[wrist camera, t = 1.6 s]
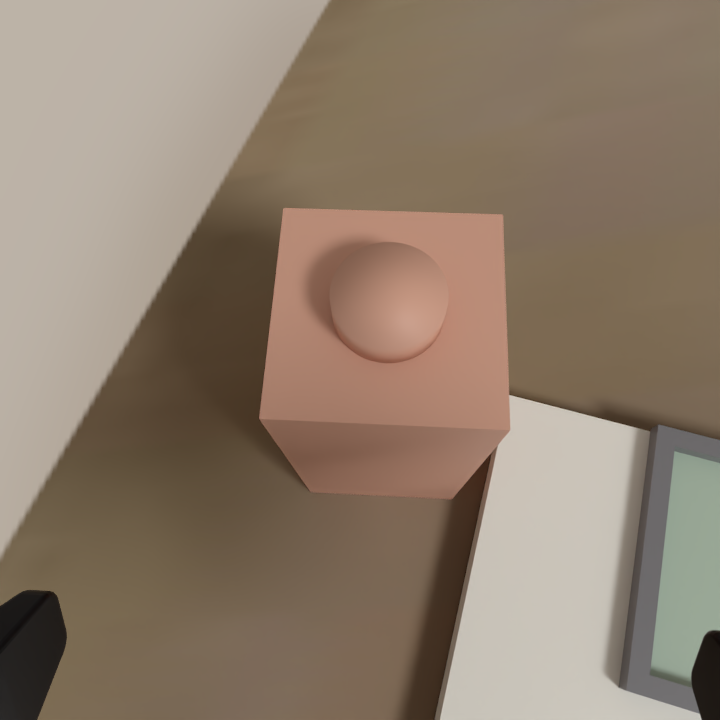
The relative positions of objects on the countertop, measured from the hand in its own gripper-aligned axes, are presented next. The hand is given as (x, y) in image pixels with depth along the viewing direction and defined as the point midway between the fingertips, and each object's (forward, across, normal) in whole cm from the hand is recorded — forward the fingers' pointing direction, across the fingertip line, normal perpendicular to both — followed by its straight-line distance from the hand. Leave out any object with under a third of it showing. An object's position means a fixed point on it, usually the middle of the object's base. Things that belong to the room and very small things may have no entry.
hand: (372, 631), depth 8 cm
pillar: (+13, 0, +5) cm, 14 cm away
